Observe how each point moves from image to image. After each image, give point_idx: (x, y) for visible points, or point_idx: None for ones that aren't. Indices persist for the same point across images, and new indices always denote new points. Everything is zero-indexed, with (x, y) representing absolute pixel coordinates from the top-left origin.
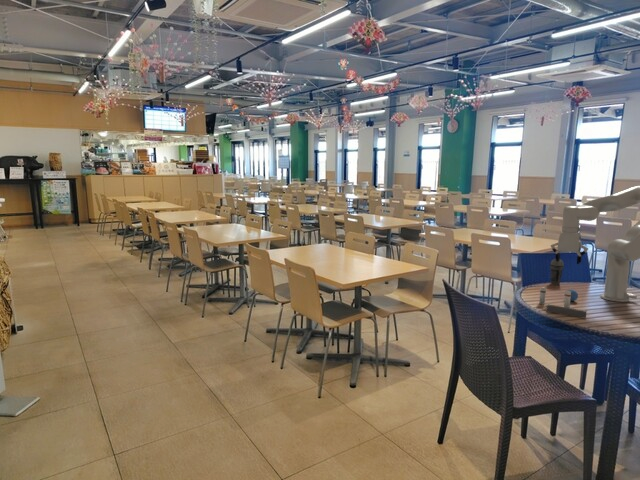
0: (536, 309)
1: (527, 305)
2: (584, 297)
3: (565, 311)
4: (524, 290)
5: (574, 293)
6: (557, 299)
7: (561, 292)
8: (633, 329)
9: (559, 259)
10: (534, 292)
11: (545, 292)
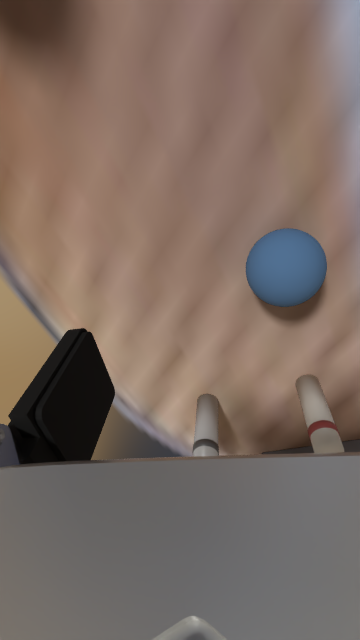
0: None
1: (185, 448)
2: (320, 63)
3: None
4: (8, 257)
5: (313, 293)
6: (216, 283)
7: (143, 75)
8: None
9: (84, 343)
10: (62, 250)
11: (218, 448)
